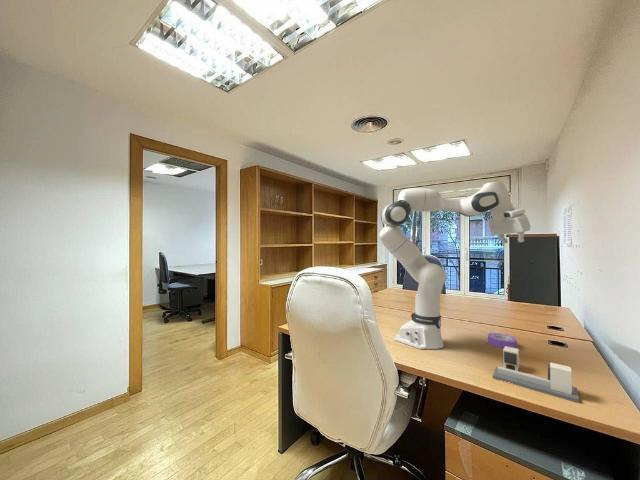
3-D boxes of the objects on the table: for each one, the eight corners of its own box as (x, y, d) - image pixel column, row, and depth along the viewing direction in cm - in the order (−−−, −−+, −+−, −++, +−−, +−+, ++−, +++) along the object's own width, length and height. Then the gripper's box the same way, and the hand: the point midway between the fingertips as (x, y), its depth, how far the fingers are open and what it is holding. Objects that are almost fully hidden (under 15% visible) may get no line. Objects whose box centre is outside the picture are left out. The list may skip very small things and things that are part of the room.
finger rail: (492, 378, 93) (492, 355, 94) (496, 369, 100) (496, 348, 100) (579, 403, 79) (578, 376, 79) (577, 390, 86) (576, 366, 86)
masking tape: (522, 350, 118) (522, 342, 118) (494, 348, 120) (494, 340, 120) (509, 341, 130) (509, 333, 130) (483, 339, 132) (483, 332, 132)
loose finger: (505, 363, 105) (505, 346, 105) (518, 367, 102) (518, 348, 102) (503, 368, 101) (503, 350, 101) (517, 372, 98) (517, 353, 98)
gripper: (482, 219, 132) (491, 245, 131) (514, 212, 111) (525, 243, 111) (493, 215, 132) (502, 241, 131) (527, 208, 112) (538, 239, 111)
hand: (513, 242), depth 121 cm, fingers open, 8 cm apart
